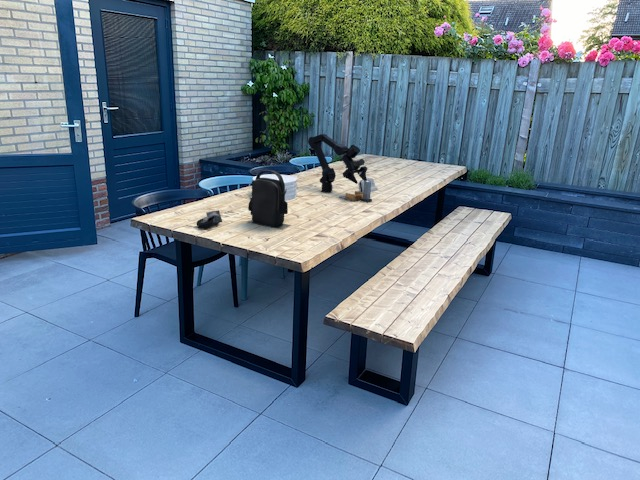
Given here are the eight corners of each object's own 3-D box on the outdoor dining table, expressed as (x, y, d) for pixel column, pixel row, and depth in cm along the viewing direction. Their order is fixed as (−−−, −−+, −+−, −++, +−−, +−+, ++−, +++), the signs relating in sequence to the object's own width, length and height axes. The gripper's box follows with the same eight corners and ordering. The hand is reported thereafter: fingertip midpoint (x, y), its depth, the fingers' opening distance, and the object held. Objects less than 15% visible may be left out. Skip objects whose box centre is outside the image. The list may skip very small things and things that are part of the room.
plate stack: (290, 202, 294) (290, 184, 290) (246, 199, 299) (246, 180, 295) (301, 193, 320) (301, 176, 316) (260, 189, 325) (260, 173, 321)
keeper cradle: (338, 197, 310) (339, 192, 309) (352, 194, 319) (353, 189, 318) (354, 201, 301) (354, 196, 300) (368, 198, 311) (368, 193, 310)
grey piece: (360, 201, 303) (362, 180, 299) (365, 199, 307) (367, 179, 303) (366, 202, 300) (368, 182, 296) (371, 201, 304) (373, 181, 299)
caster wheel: (197, 234, 237) (201, 225, 246) (220, 230, 237) (222, 221, 246) (193, 222, 234) (197, 213, 243) (216, 217, 234) (219, 209, 243)
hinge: (365, 193, 324) (362, 179, 323) (360, 195, 327) (356, 180, 325) (378, 189, 337) (374, 175, 336) (372, 191, 340) (369, 177, 339)
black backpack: (292, 225, 248) (293, 171, 239) (282, 229, 240) (283, 174, 232) (257, 218, 258) (256, 166, 250) (246, 222, 251) (245, 168, 242)
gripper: (347, 156, 295) (359, 176, 291) (366, 153, 308) (378, 173, 304) (336, 167, 302) (349, 187, 299) (356, 164, 315) (368, 183, 311)
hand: (361, 182), depth 303 cm, fingers open, 9 cm apart
